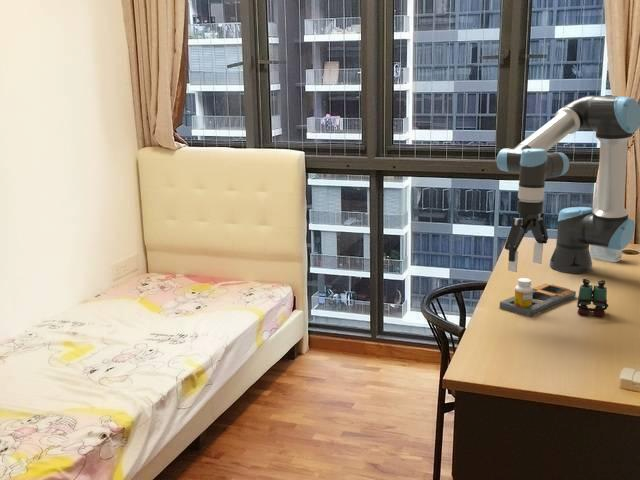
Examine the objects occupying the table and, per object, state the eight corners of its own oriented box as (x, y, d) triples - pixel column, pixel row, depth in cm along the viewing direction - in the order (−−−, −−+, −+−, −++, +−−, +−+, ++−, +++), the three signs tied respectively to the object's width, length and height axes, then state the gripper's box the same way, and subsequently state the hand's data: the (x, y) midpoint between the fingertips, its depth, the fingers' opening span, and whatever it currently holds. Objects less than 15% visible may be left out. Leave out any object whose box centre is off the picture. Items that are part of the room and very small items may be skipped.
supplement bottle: (511, 306, 216) (513, 277, 213) (527, 305, 216) (529, 277, 214) (517, 312, 210) (519, 282, 208) (534, 311, 211) (536, 282, 208)
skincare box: (588, 257, 268) (591, 232, 265) (596, 254, 272) (598, 229, 270) (614, 263, 261) (617, 237, 258) (621, 259, 265) (624, 234, 262)
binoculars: (579, 288, 202) (578, 275, 211) (576, 320, 206) (575, 306, 215) (611, 291, 199) (609, 278, 208) (607, 323, 203) (606, 309, 212)
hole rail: (545, 289, 231) (546, 282, 231) (575, 297, 223) (576, 290, 223) (499, 307, 214) (499, 300, 214) (529, 317, 206) (530, 310, 206)
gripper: (541, 193, 215) (536, 257, 220) (495, 203, 199) (491, 271, 204) (563, 196, 209) (557, 262, 215) (517, 207, 194) (512, 277, 199)
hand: (524, 267), depth 210 cm, fingers open, 13 cm apart
